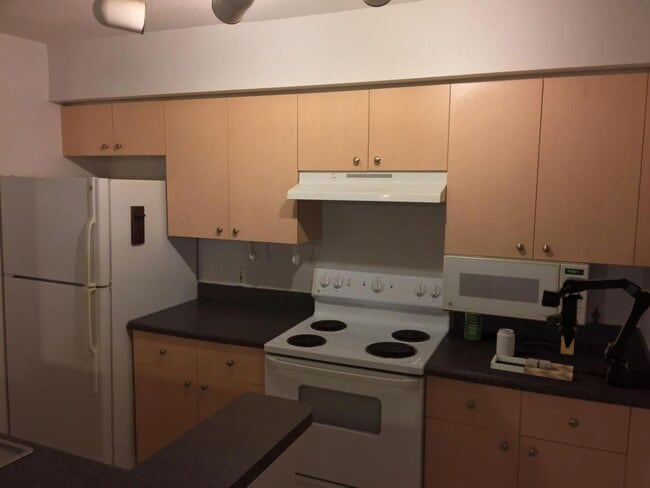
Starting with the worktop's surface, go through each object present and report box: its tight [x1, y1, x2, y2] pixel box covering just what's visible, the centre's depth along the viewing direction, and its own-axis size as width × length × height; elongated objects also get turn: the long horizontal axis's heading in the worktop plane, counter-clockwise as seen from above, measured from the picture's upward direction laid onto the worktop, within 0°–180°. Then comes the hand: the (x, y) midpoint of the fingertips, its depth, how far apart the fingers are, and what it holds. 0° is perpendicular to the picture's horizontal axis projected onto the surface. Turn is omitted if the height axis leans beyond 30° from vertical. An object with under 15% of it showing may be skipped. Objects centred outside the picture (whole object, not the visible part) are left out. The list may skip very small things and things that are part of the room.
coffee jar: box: [464, 312, 483, 342], centre depth 260 cm, size 10×8×19 cm
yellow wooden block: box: [560, 335, 575, 356], centre depth 212 cm, size 4×4×8 cm
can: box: [495, 328, 516, 357], centre depth 236 cm, size 8×8×12 cm
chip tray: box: [490, 353, 528, 374], centre depth 222 cm, size 13×12×3 cm
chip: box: [539, 359, 551, 370], centre depth 215 cm, size 4×4×4 cm
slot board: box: [522, 358, 574, 382], centre depth 215 cm, size 18×12×3 cm, turn 64°
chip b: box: [527, 357, 540, 369], centre depth 217 cm, size 4×4×4 cm
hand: (567, 346), depth 212 cm, fingers closed on yellow wooden block, 3 cm apart
